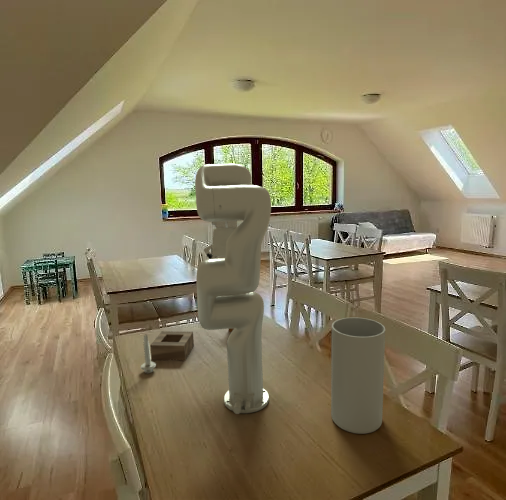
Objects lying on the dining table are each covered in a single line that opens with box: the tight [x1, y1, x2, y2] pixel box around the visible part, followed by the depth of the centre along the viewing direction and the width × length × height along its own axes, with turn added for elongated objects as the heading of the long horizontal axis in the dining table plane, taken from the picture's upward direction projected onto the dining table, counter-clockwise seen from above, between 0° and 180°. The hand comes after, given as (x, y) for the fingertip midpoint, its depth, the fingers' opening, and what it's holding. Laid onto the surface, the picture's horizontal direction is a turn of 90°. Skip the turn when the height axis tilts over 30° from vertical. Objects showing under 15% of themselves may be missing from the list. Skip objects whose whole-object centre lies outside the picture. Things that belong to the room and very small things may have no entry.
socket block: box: [149, 330, 195, 361], centre depth 139 cm, size 12×12×6 cm
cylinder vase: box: [330, 316, 386, 435], centre depth 96 cm, size 12×12×25 cm
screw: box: [140, 333, 157, 374], centre depth 125 cm, size 13×5×5 cm
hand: (228, 271), depth 139 cm, fingers open, 9 cm apart
